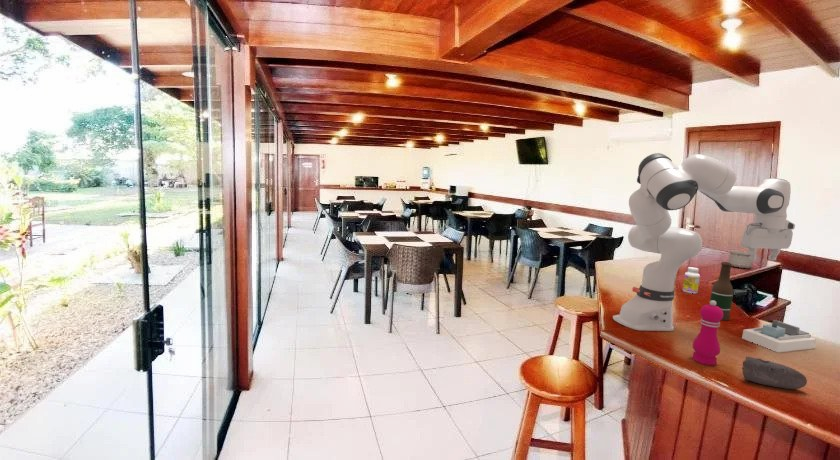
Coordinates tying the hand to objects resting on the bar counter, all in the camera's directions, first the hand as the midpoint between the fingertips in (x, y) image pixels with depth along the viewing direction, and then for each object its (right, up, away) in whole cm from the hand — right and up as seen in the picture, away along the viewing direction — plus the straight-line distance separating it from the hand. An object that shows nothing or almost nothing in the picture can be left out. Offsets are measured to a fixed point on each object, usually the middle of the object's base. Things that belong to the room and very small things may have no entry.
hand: (762, 260), depth 152 cm
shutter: (+9, -26, -2) cm, 28 cm away
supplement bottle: (+13, -21, +61) cm, 67 cm away
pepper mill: (-36, -31, -21) cm, 52 cm away
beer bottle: (0, -26, +22) cm, 35 cm away
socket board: (+2, -30, -4) cm, 30 cm away
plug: (-1, -29, -5) cm, 30 cm away
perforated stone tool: (-27, -33, -35) cm, 55 cm away
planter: (+95, -15, +133) cm, 164 cm away
